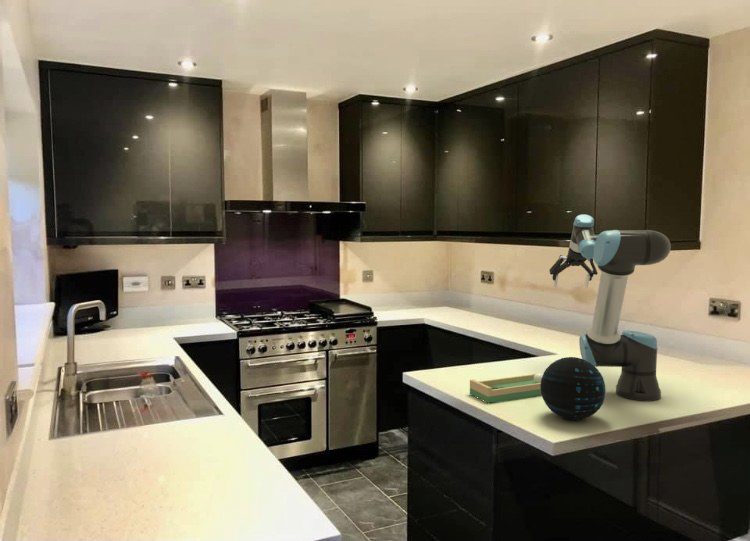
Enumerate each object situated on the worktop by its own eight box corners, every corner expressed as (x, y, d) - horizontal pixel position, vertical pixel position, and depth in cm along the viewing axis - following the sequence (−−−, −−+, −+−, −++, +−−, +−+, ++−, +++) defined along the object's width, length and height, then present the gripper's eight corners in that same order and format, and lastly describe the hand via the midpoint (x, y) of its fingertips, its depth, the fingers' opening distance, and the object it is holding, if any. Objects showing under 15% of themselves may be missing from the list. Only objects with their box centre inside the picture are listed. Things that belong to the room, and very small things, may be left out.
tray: (560, 392, 213) (560, 378, 213) (488, 403, 201) (488, 388, 200) (539, 384, 224) (539, 370, 224) (469, 394, 212) (469, 379, 211)
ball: (546, 384, 215) (546, 373, 215) (538, 385, 214) (538, 375, 213) (539, 381, 219) (539, 371, 219) (531, 382, 217) (531, 372, 217)
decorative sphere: (608, 431, 172) (610, 367, 171) (540, 426, 178) (541, 363, 176) (601, 411, 192) (602, 352, 190) (539, 406, 197) (540, 349, 195)
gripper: (606, 242, 243) (597, 279, 257) (547, 242, 245) (540, 279, 259) (611, 253, 237) (601, 291, 251) (549, 253, 240) (543, 290, 253)
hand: (570, 285), depth 255 cm, fingers open, 13 cm apart
